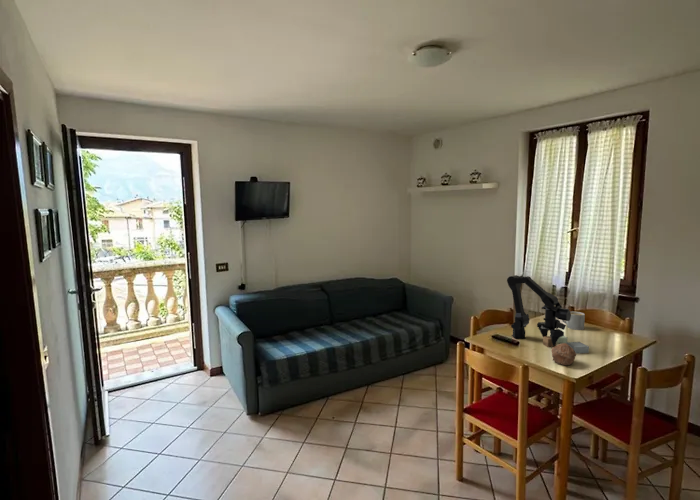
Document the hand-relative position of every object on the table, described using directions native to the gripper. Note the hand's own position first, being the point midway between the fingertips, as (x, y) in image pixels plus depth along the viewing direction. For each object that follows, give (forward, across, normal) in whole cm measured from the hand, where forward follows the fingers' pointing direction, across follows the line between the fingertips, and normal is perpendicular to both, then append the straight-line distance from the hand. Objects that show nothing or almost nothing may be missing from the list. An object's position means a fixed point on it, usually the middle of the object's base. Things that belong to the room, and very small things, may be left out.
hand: (549, 342), depth 226 cm
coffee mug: (+2, +33, -35) cm, 48 cm away
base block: (+2, -9, -11) cm, 14 cm away
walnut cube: (+2, 0, 0) cm, 2 cm away
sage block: (+2, +4, -10) cm, 11 cm away
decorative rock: (+2, -25, +7) cm, 26 cm away
